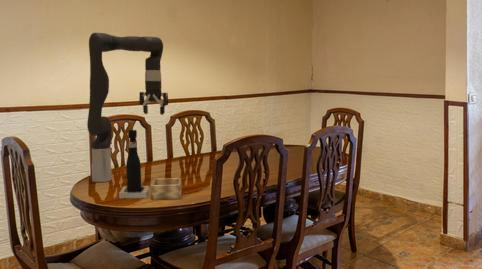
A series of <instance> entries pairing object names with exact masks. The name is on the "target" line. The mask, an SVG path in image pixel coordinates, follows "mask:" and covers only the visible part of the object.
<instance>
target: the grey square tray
mask: <svg viewBox="0 0 482 269" xmlns="http://www.w3.org/2000/svg"><path fill="white" fill-rule="evenodd" d="M141 191H142V192H127V185H126V186H122V188H121V190H120V191H119V193H118V196H119V198H118V199H120V200H121V199H124V198H126V199H146V198H148V194H149V192H150V185H141ZM124 200H125V199H124Z"/></svg>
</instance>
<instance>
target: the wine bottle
mask: <svg viewBox="0 0 482 269" xmlns="http://www.w3.org/2000/svg"><path fill="white" fill-rule="evenodd" d="M127 136H128V137H127V138H128V139H129V143H128V145H129V146H128V154H127V158H126V163H125V164H126V168H125V169H126V186H127V192H142V191H141V186H142V169H141V167H142V166H141V165H142V164H141V160H140V157H139V154H138V147H137V143H136V139H137V137H138V130H136V129H130V130H127Z"/></svg>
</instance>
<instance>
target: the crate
mask: <svg viewBox="0 0 482 269" xmlns="http://www.w3.org/2000/svg"><path fill="white" fill-rule="evenodd" d="M150 193H151V194H150V196H151V198H150V199H151V200H152V201H156V200H158V201H159V200H181V199H182V178H180V177H177V178H153V179H152V182H151V185H150Z"/></svg>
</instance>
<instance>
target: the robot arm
mask: <svg viewBox="0 0 482 269" xmlns="http://www.w3.org/2000/svg"><path fill="white" fill-rule="evenodd" d="M120 50H121V51H126V52H127V51H128V52H145V53H150V55H149V57H146V58H145V60H144V61H145V64H144V66H145V68H144V69H145V72H144V83H145V84H144V85H145V86H144V87H145V88H144V89H145V92H144V91H141V92H139V98H138V99H139V100H138V101H139V103H138V104H139V105H141V106H142V108H143V109H142V110H143V113H144V115H147V114H148V112H149V109H148V108H149V107H148V105H149V103H150V102H154V103H155V102H156V103H158V104H159V113H160V116H161V115H164V114H165V110H166V109H165V107H166V106H169V94H168V92H162V72H161V60H162V55H163V52H164V42H163V40H162V39H161V38H160V37H157V36H137V35H136V36H134V35H129V36H128V35H127V36H117V35H114V34H109V33H105V32H92V33H91V34H90V36H89V39H88V51H89V53H88V54H89V68H90V70H89V73H90V74H89V104H88V105H89V106H88V115H87V123H86V125H87V131H88V133H89V134H90V135H91V136H93V137H95V139H94V141H92V142H91V182H92V183H93V182H95V183H104V182H105V183H106V182H107V183H108V182H110V181H112V180H113V179H112V176H113V174H112V159H111V158H112V156H111V144H112V137H113V136H112V133H113V132H112V130H113V129H112V128H113V126H112V122H111V120H110V119H109V117H107V116H102V113H103V112H102V110H103V106H104V104H105V102H106V99H107V98H108V94H109V91H110V90H109V89H110V77H109V74H108V72H107V70H106V68H105V66H104V63H103V53H107V52H114V51H120ZM145 97H146V98H145ZM162 98H163V99H162Z"/></svg>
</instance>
